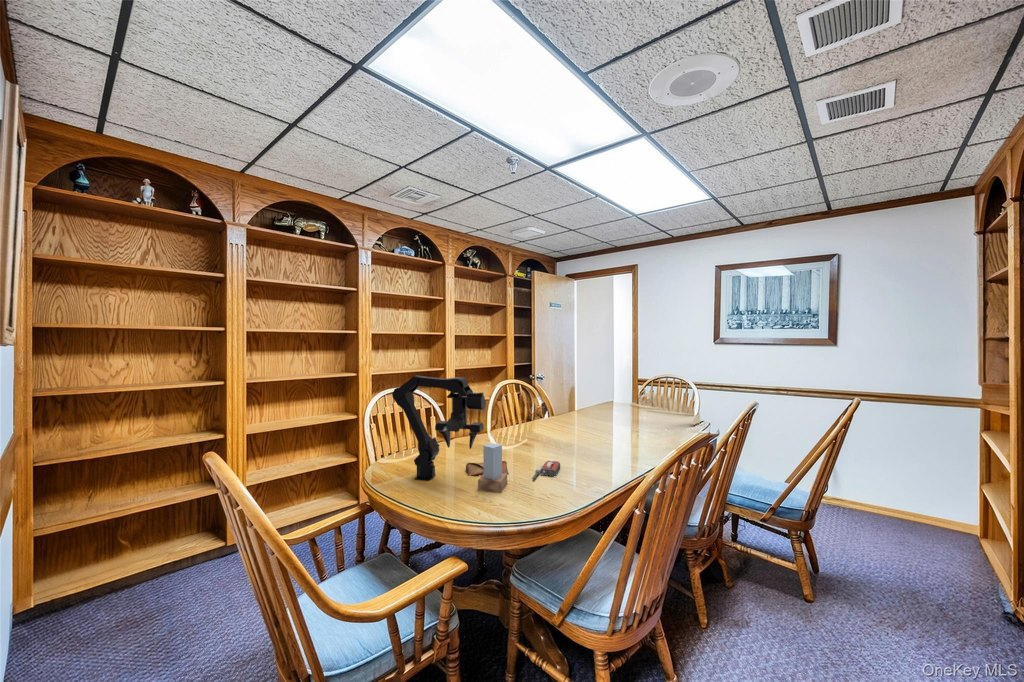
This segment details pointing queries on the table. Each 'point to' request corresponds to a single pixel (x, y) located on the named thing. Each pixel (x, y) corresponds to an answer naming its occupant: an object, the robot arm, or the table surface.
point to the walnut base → (492, 483)
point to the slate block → (492, 461)
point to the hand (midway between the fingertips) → (459, 448)
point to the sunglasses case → (481, 468)
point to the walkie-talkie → (548, 469)
